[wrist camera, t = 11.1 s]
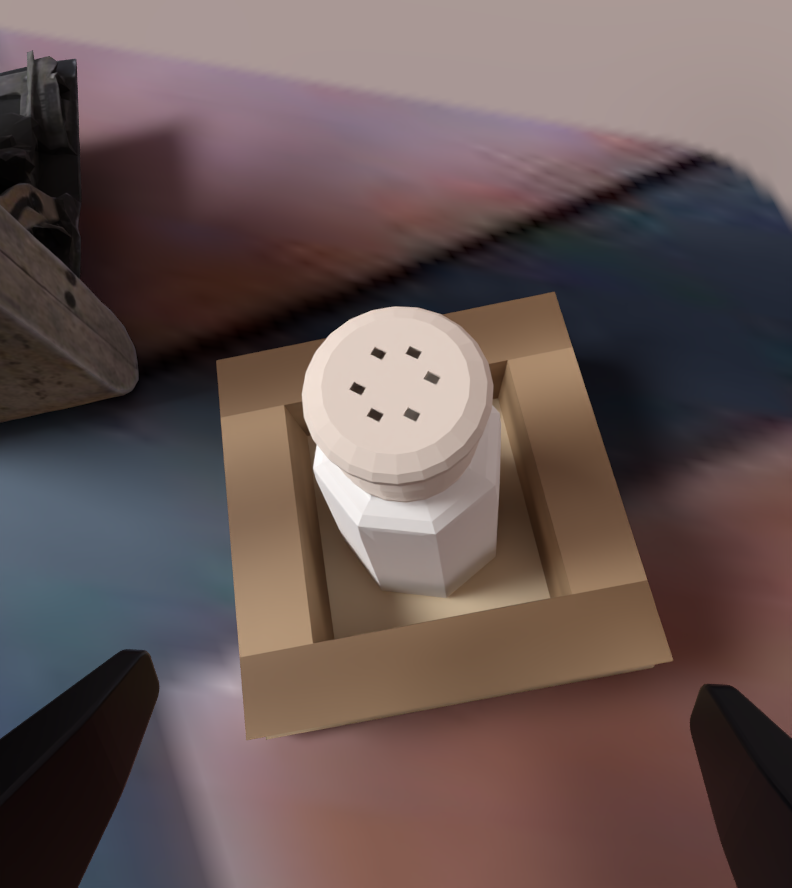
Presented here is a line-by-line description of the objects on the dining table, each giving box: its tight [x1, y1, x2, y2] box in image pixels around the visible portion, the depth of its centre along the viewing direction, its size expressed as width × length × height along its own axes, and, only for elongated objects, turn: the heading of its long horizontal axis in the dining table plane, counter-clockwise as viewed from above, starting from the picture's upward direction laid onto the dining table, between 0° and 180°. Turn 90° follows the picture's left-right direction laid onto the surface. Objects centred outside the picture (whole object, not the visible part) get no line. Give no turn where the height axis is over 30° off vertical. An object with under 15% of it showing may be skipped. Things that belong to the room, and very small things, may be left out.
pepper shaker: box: [302, 306, 501, 598], centre depth 13 cm, size 5×5×11 cm
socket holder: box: [216, 292, 673, 740], centre depth 17 cm, size 12×12×4 cm
